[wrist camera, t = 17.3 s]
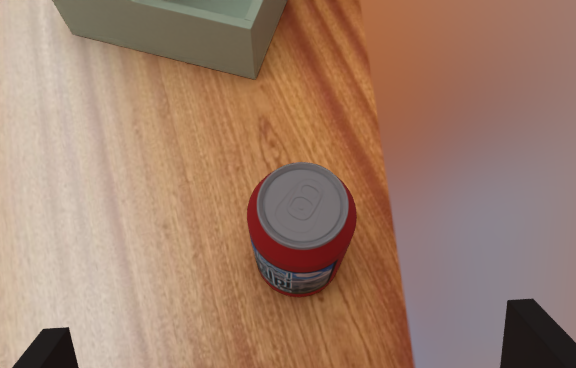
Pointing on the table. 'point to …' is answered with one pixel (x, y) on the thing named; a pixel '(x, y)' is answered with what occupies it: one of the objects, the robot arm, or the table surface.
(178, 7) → the chest
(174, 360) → the table surface
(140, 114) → the table surface
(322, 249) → the beverage can
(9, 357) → the table surface
